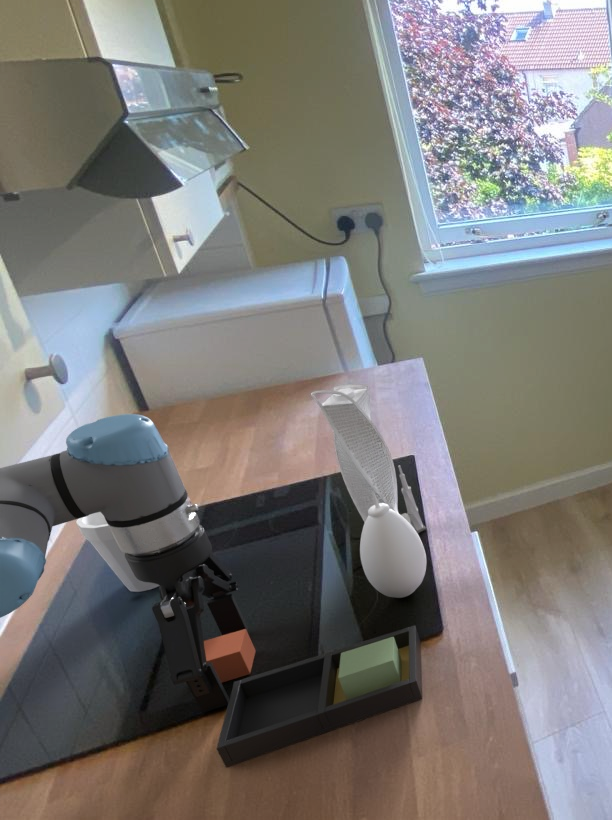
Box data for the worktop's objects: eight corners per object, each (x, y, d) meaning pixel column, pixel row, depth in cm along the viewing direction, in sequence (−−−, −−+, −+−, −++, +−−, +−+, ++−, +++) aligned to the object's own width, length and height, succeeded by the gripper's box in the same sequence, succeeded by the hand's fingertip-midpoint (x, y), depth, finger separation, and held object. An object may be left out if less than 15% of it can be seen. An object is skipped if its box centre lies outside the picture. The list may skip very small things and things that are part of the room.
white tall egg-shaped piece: (363, 606, 107) (326, 503, 99) (403, 571, 114) (371, 473, 106) (407, 615, 105) (373, 511, 97) (445, 579, 112) (416, 479, 104)
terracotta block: (194, 691, 93) (182, 668, 92) (202, 667, 97) (191, 644, 95) (250, 674, 96) (239, 651, 94) (256, 650, 99) (246, 628, 98)
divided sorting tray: (225, 767, 83) (215, 748, 82) (242, 699, 92) (233, 681, 91) (422, 698, 91) (416, 680, 90) (420, 642, 100) (415, 625, 99)
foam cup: (200, 553, 119) (170, 485, 114) (177, 589, 111) (142, 519, 106) (130, 566, 116) (95, 498, 111) (101, 605, 108) (61, 533, 103)
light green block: (347, 701, 90) (338, 678, 89) (349, 676, 94) (340, 652, 92) (401, 683, 93) (393, 660, 91) (401, 659, 96) (393, 636, 95)
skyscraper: (375, 555, 117) (323, 399, 106) (352, 537, 122) (300, 386, 110) (426, 528, 123) (382, 379, 112) (402, 512, 128) (358, 367, 116)
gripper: (175, 590, 79) (244, 729, 88) (222, 478, 99) (274, 600, 108) (86, 614, 76) (166, 755, 85) (153, 494, 96) (212, 617, 105)
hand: (227, 668), depth 96 cm, fingers open, 13 cm apart
